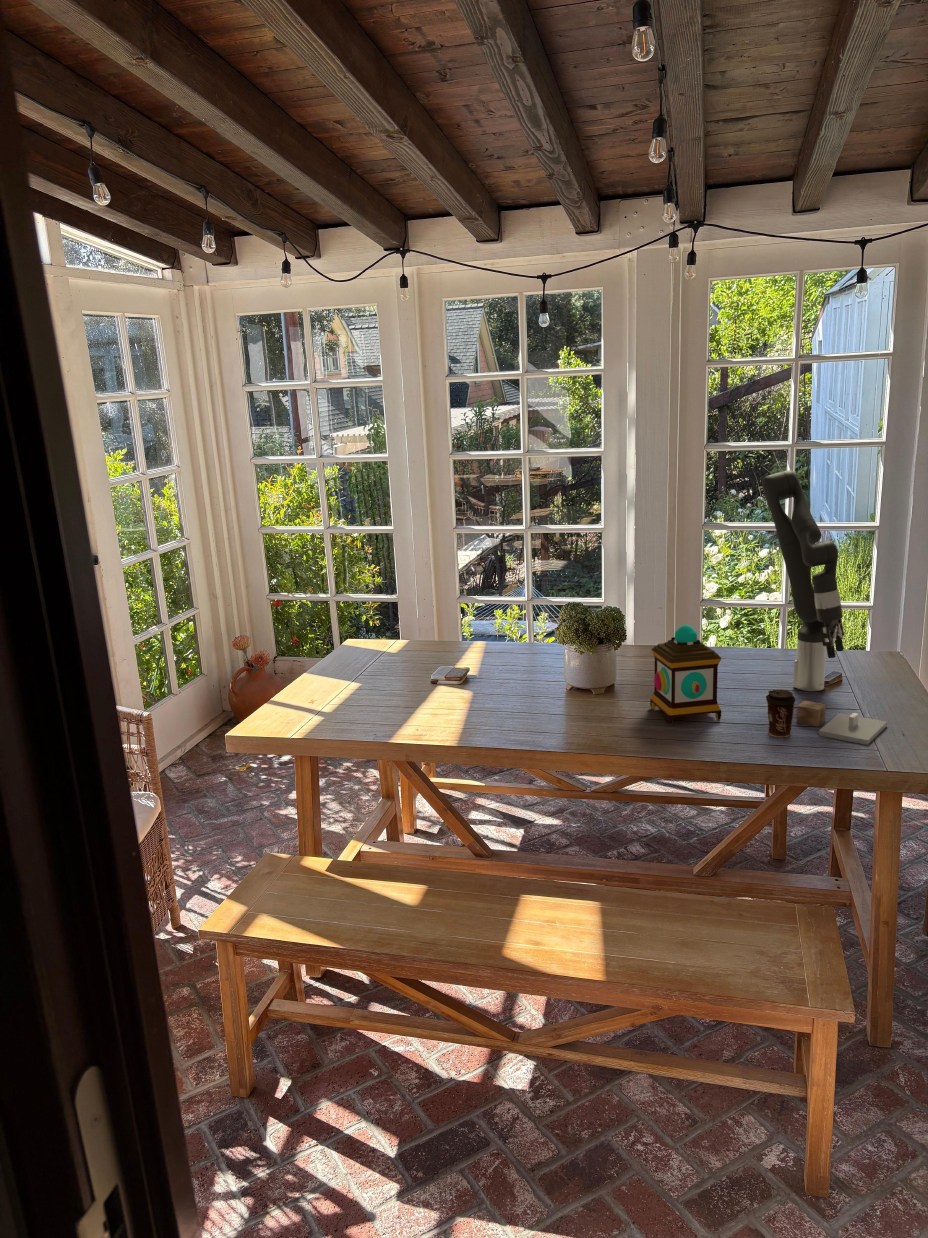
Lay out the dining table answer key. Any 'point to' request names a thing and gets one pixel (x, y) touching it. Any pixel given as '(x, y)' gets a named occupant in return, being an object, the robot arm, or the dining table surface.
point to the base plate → (853, 729)
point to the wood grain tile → (853, 720)
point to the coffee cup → (780, 712)
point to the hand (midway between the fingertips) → (836, 654)
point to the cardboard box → (811, 713)
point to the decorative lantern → (685, 676)
